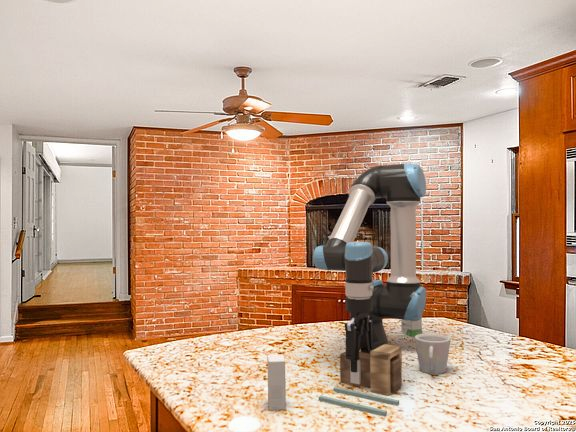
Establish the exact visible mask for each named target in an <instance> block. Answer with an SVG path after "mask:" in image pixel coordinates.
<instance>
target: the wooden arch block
mask: <svg viewBox="0 0 576 432" xmlns="http://www.w3.org/2000/svg"><path fill="white" fill-rule="evenodd" d="M402 347H403V346H400V345H393V344H389V343H388V344H384V345H382V346H380V347H378V348H376V349H374V350H370V351H371V352H370V378H371V389H370V393H374V394H378V395H383V396H390V395H391V394H392V393H391V389H390V359H391V358H393V357H394V358H400V359H401V386H403V367H402V366H403V360H402V359H403V357H402V356H403V354H402V353H403V352H402Z"/></svg>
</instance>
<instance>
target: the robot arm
mask: <svg viewBox="0 0 576 432" xmlns="http://www.w3.org/2000/svg"><path fill="white" fill-rule="evenodd" d="M426 193H427V182H426V176H425V174H424V170H423V169H422V167H421V166H420V165H419V164H418V163H417V164H416V163H397V164H386V165H376V166H375V165H374V166H372V167H370V168H368V169H366V170H365V171H364V172H363V171H362V173H361V174H360V175H359V176H358V177H357V178H356V179H355V180H354V181H353V183H352V184H351V186H350V188H349V190H348V197H347V201H346V203H345V205H344V207H343V209H342V211H341V213H340V216H339V217H338V219H337V221H336V224H335V225H334V228H333V230H332V232H331V234H330V236H329V238H328V240H327V242H326V244H325V245H324V244H323V245H319V246H317V247H315V248H314V250H313V255H312V261H313V264H314V266H315V268H317V270H323V271H340V272H342V271H343V272H345V282H344V283H345V287H344V288H345V294H344V295H345V296H346V298H345V311H346V312H348V313H349V322H345V323H344V329H345V330H344V331H345V351H346V359H349V360H350V379H351V383H354V384H361V374H360V360H359V352H364V353H370V352H371V351H373V350H374V349H376V348H378V347H380V346H382V345H384V344H389V343H388V341H389V340H388V339H389V338H388V335H387V333H386V330H385V327H384V324H383V318H384V319H395V320H401V319H402V320H405V321H407V320H418V319H419V318H420V317H421V316H422V317H423V314H424V310H425V307H426V302H427V289H426V288H425V287H424V286H421V283H422V282H421V280H420V279H419V278H418V277H417V248H416V247H417V207H418V205H420V203H421V198H424V197H425V196H426ZM376 199H386V204H387V205H388V206H389V207H390V276H389V277H388V278H387V279H386V283H385V284H383V283H384V282H383V280H382V279H373V273H378V272H381V271H382V270H384V269H385V268H386V267H387V265H388V263H389V256H388V253H387V252H386V250H385V249H384V248H382V247H380V246H376V245H375V246H373V245H372V244H371V242H368V241H355V238H356V237H357V234H358V232H359V229H360V228H361V224H362V223H363V221H364V218H365V216H366V214H367V212H368V208H369V207H370V206H371V205H372V204H374V203H375V201H376Z"/></svg>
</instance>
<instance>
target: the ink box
mask: <svg viewBox="0 0 576 432" xmlns="http://www.w3.org/2000/svg"><path fill="white" fill-rule="evenodd" d="M400 323H401V324H400V327H401V328H400V329H401V331H400V332H401V333H403V334H405V335H407V336H409V337H414V338H415V336H416V335H419V334H423V315H422V316H421V317H420V318H419V319H418V320H407V321H405V320H402V319H400Z"/></svg>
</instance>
